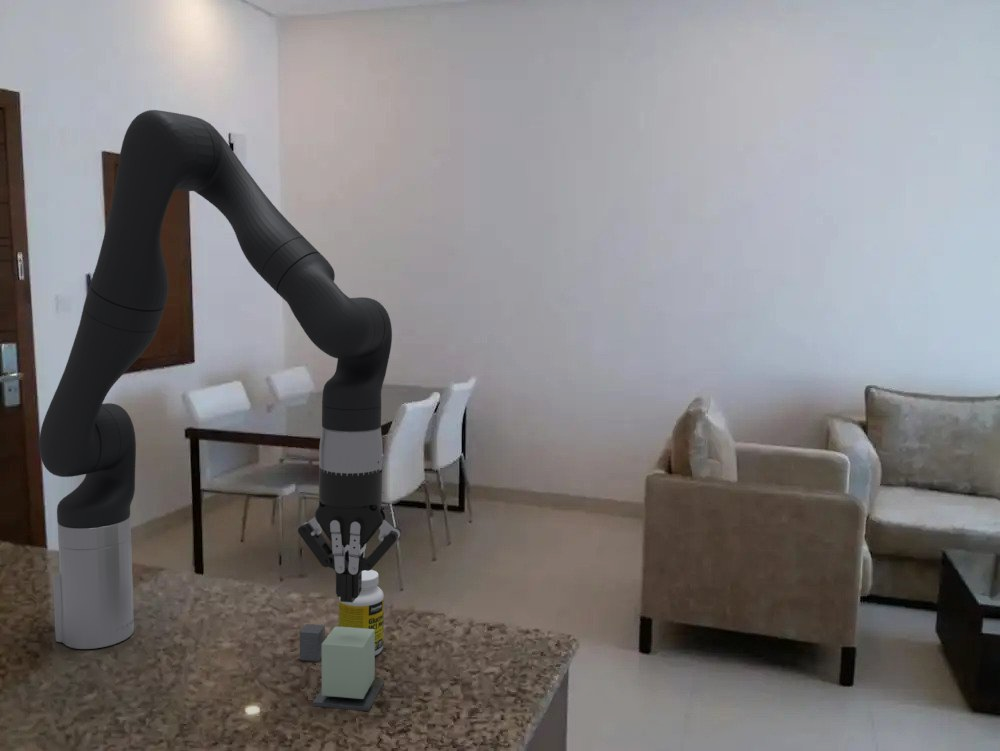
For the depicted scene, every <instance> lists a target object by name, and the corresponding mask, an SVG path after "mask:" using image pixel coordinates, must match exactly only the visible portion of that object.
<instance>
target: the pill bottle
mask: <svg viewBox="0 0 1000 751" xmlns="http://www.w3.org/2000/svg"><path fill="white" fill-rule="evenodd" d="M379 577H380V576H379V573H378V571H376V570H373V569H371V570H369V571H366V570H364V571H362V585H361V586H362V589H361V592H360V594H359V596H358V597H357V598H356V599H355V600H354V601H353V603H351V602H341V601H340V597H338V627H351V628H364V629H375V656H377V655H379V654H380V653H381V652H382V651H383V649H384V627H385V626H384V623H385V622H384V617H385V616H384V611H385V609H384V608H385V606H384V605H385V595H384V594H385V593H384V591H383V590H382V589H381V588H380V587H379V586H378V585H379V582H380V580H379Z"/></svg>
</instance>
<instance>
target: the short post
mask: <svg viewBox="0 0 1000 751" xmlns="http://www.w3.org/2000/svg"><path fill="white" fill-rule="evenodd" d="M325 629H326V628H325V625H324V624H323V625H322V624H321V625H320V624H311V623H310V624H309V623H307V624H305V625H304V626H303V628H302V629H301V630H300V631H299V661H305V662H306V661H307V662H316V663H317V662H320V660H322V643H323V642H324V640H325V639H326V636H325V635H326V633H325V632H326V631H325Z"/></svg>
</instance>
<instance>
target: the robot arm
mask: <svg viewBox="0 0 1000 751" xmlns="http://www.w3.org/2000/svg"><path fill="white" fill-rule="evenodd" d="M117 164H118V165H117V170H116V177H115V182H114V188H113V194H112V200H111V206H110V211H109V215H108V220H107V223H106V228H105V231H104V233H103V234H104V236H103V240H102V244H101V247H100V251H99V254H98V259H97V263H96V266H95V269H94V271H93V274H92V276H91V279H90V283H89V286H88V289H87V293H86V297H85V301H84V302H83V308H82V312H81V316H80V321H79V325H78V327H77V331H76V334H75V337H74V341H73V344H72V346H71V350H70V353H69V356H68V359H67V362H66V365H65V367H64V371H63V374H62V375H61V377H60V380H59V383H58V386H57V388H56V390H55V392H54V394H53V397H52V399H51V401H50V403H49V406H48V409H47V411H46V413H45V416H44V419H43V421H42V424H41V427H40V428H41V429H40V434H39V440H38V443H39V444H38V449H39V450H38V451H39V455H40V460H41V462H42V464H43V467H45V470H46V471H48V472H49V473H50V474H52V475H53V476H56V477H61V478H70V477H71V478H73V477H78V476H83V475H85V477H84V478H83V480H82V481H81V483H80V484H78V486H77V487H76V488H75V489H74V490H72V491H71V492H70V493H69V494H67V495H66V496H64V497H63V498H62V499H61V500H60V501H59V502H58V504H57V507H56V519H57V538H58V539H57V540H58V541H57V542H58V561H59V562H58V563H59V572H58V573H56V574H55V575H54V576H53V578H52V582H53V584H52V585H53V606H54V610H53V611H54V629H55V630H54V631H55V642H58V643H63V644H64V645H65V646H66V647H68V648H71V649H76V650H77V649H78V650H91V649H92V650H94V649H99V648H105V647H110V646H113V645H116V644H119V643H121V642H122V641H125V640H127V639H128V638H129V637H131V636H132V635H133V633H134V631H135V623H134V620H135V616H134V590H133V589H134V588H133V587H134V586H133V584H134V583H133V581H134V580H133V556H132V555H133V554H132V553H133V552H132V551H133V550H132V527H131V524H132V523H131V506H132V505H131V504H132V501H133V499H134V496H135V493H136V492H135V491H136V460H137V459H136V457H137V455H136V454H137V442H136V432H135V427H134V423H133V421H132V419H131V416H130V415H129V413H128V412H127V410H126V409H124V407H122V406H120V405H119V404H116V403H111V402H109V403H108V402H107V403H106V402H105V403H104V401H105V399H106V396H107V395H108V394H109V392H110V390H111V388H112V387H113V386H114V385H115V384H116V382H118V380H119V379H120V378H121V377H122V376H123V375H124V374H125V373H126V372H127V371H128V370H129V368H130V367H131V366H132V365H133V364H134V363H135V362H136V361H137V360H138V359H139V358H140V356H142V354H143V353H144V352H145V351H146V349H147V348H148V347H150V345H151V343H152V341H153V340H154V338H155V336H156V333H157V331H158V329H159V326H160V323H161V320H162V317H163V314H164V311H165V307H166V305H167V301H168V297H169V289H170V288H169V287H170V284H169V275H168V271H167V266H166V262H165V258H164V254H163V249H162V244H161V243H162V242H161V236H162V235H161V234H162V226H163V223H164V219H165V216H166V212H167V209H168V205H169V203H170V201H171V198H172V196H173V194H174V192H175V191H180V192H181V191H182V192H195V193H196V194H197V195H199V196H201V197H202V198H204V200H206V201H208V202H209V203H210V204H211V205H212V206H213V207H215V208H216V209H217V210H218V211H219V212H221V214H222V215H223V216H224V217H225V218H226V220H227V221H228V222H229V224H230V226H231V227H232V230H233V232H234V234H235V237H236V239H237V242H238V244H239V246H240V249H241V251H242V253H243V255H244V257H245V258H246V260H247V261H248V263H249V264H250V265H251V267H252V268H253V269H254V271H255V272H256V273H257V274H258V275H259V276H260V277H261V278H262V279H263V280H264V281H265V282H266V283H267V284H268V285H269V286H270V288H272V289H273V290H274V292H276V293H277V294H278V295H279V296H280V298H282V300H285V302H286V303H287V305H288V306H289V307H290V310H291V313H292V314H293V316H294V317H295V319H296V320H297V322H298V324H299V325H300V326H301V328H302V330H303V332H304V333H305V335H306V336H307V337H308V339H309V340H310V341H311V342H312V343H313V344H314V345H315V346H316V347H317V348H318V349H319V350H321V352H323V353H325V354H326V355H328V356H329V357H332V358H334V359H337V362H336V369H335V373H334V374H333V375H332V376H331V378H329V379H328V380H327V381H326V382H325V384H324V386H323V389H322V400H321V401H322V402H321V403H322V405H321V431H320V432H321V433H320V440H319V451H318V453H319V454H318V456H319V458H318V461H319V463H318V466H319V467H318V503H319V504H318V507H317V508H316V510H315V513H314V517H313V518H311V519H310V520H309V519H308V520H306V521H305V522H304V523H302V524H301V525H300V526H299V527H298V528H297V532H298V534H299V536H300V537H301V538H302V539H303V542H304V543H305V544H306V546H307V547H308V549H310V551H311V553H312V554H313V555H314V556H315V558H316V560H318V562H319V563H320V565H321V566H322V567H324V568H330V569H333V570H334V572H335V594H336V596H337V597H338V598H339V597H340V601H341V602H351V603H353V601H354V600H355V599H356V598H357V597H358V596H359V594H360V592H361V589H362V586H361V585H362V571H364V570H366V571H369V570H373V568H374V566H376V565H377V563H378V562H379V561H380V560H381V559H382V557H384V556H385V554H386V553H387V552H388V551H389V549H390V548H392V546H393V545H394V544H395V543H396V541H398V539H399V537H401V535H402V530H401V528H399V527H397V526H396V527H393V526H392V525H391V524H390V523H389V522H388V521H387V520H386V514H385V511H384V509H383V506H382V500H383V499H382V497H383V496H382V494H383V492H382V491H383V487H382V486H383V463H384V454H383V450H384V449H383V437H382V389H383V385H384V381H385V377H386V374H387V368H388V364H389V359H390V355H391V349H392V344H393V343H392V342H393V329H392V323H391V319H390V315H389V312H388V311H387V309H386V308H385V307H384V305H383V304H382V303H381V302H379V301H377V300H376V299H375V298H371V297H370V298H369V297H366V296H365V297H363V296H362V297H349V296H348V295H346V294H345V293H344V292H343V291H342V290H341V289H340V287H339V286H338V284H336V283H335V276H336V275H335V274H336V273H335V270H334V268H333V266H332V264H331V263H330V262H329V261H328V260H327V258H325V256H324V255H323V254H321V252H320V251H319V250H318V249H316V248H315V246H314V245H312V244H311V243H310V241H309V240H308V239H307V238H306V237H304V235H303V234H301V233H300V232H299V231H298V229H296V227H295V226H294V225H293V224H292V223H290V221H288V219H287V218H286V217H285V216H284V215H283V214H282V213H281V211H279V210H278V208H277V207H276V206H275V205H274V204H273V203H272V201H271V200H270V199H269V198H268V196H267V195H266V194H265V192H263V190H262V189H261V187H260V186H259V185H258V183H257V182H256V181H255V180H254V178H253V176H252V175H251V174H250V172H248V170H247V168H245V166H244V165H243V164H242V162H241V161H240V159H239V158H238V156H237V155H236V153H235V152H234V151H233V150H232V148H231V146H230V145H229V143H228V142H227V141H226V139H224V137H223V136H222V135H221V133H220V132H219V131H218V130H217V128H215V127H214V125H212V124H211V123H210V122H208V121H206V120H205V119H203V118H201V117H197V116H192V115H188V114H183V113H179V112H178V113H177V112H172V111H165V110H160V109H159V110H157V109H149V110H145V111H143V112H141V113H139V114H138V115H137V116H136V117H134V119H133V120H132V121H130V124H129V126H128V128H127V129H126V132H125V134H124V135H123V140H122V144H121V148H120V154H119V158H118V162H117ZM378 530H379V534H378V540H379V542H380V543H379V544H378V545H377V546H376V547H375V549H374V550H372V552H371V554H369V556H365V554H366V553H365V551H366V548H367V543H368V542H369V541H371V539H372V538H373V536H374V535H375V534H376V532H377V531H378ZM322 531H323V532H324V534H325V536H327V538H328V540H329V541H330V542H331V545H330V543H329V542H328V541H327V540H326V537H325V536H324V535H323V534H322Z"/></svg>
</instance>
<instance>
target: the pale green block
mask: <svg viewBox="0 0 1000 751" xmlns="http://www.w3.org/2000/svg"><path fill="white" fill-rule="evenodd" d="M375 657H376V655H375V629H364V628H351V627H339V626H337V625H335V626H334V627H333V629H331V631H330V632H329V634H328V635H327V636H326V637H325V640H324V642H323V643H322V658H321V689H322V696H333V697H345V698H357V699H363V698H364V696H365V695H366V693H367V691H368V689H369V687H370V686H371V684H372V682H373V680H374V678H375V667H376V666H375V663H376V662H375V661H376V660H375ZM375 679H376V678H375Z"/></svg>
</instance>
